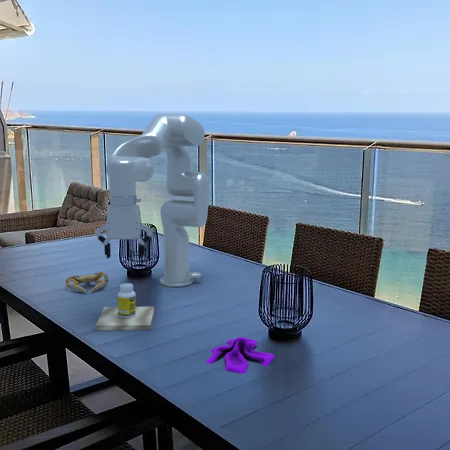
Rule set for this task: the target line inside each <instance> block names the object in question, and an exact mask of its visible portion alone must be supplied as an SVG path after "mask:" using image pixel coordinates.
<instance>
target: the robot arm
mask: <svg viewBox="0 0 450 450" xmlns="http://www.w3.org/2000/svg"><path fill="white" fill-rule="evenodd" d="M205 137H206V136H205V129H204V127H203V125H202V124H201V122H199V121H198V120H196V119H195V118H193V117H192V116H190V115H187V114H184V113H162V114H160V113H159V114H157V115H156V116H154V117H152V119H151V121H150V122H149V123H148V125H147V126H146V128H145V129H144V130H143V132H142V134H141V135H138V136H136V137H134V138H132V139H130V140H127V141H126V142H124V143H122V144H121V145H120V144H119V146H118V147H117V148H116V149H115V150H114V151H113V152H112V154H111V155H110V157H109V159H108V160H107V163H106V169H105V170H106V174H107V176H108V177H109V205H108V206H107V210H106V211H107V212H106V224H104V225H102V226H101V227H98V228H96V229H95V230H94V234H95V236H96V237H97V239H98V240H99V242H101V243H102V244H103V246H104V255H105V256H106V259H109V258H110V257H111V256H112V255H111V253H112V251H111V243H110V242H111V241H112V240H136V241H137V242H138V243H139V244H138V258H139V259H142V258H143V256H144V255H145V244H146V243H147V242H148V241H149V240H150V238H151V236H152V235H153V233H154V229H152V228H150V227H148V226H147V225H145V224H142V217H141V210H140V209H141V208H140V206H139V204H137V203H141V202H142V197H139V196H137V190H136V189H137V187H136V182H139V183H141V182H147V181H149V180H150V179H151V178H152V177H153V176H154V172H155V171H154V170H155V167H154V164H153V162H152V160H151V158H154V157H156V156H159V155H160V154H162V152H163V150H164V151H165V154H166V159H167V161H166V162H167V164H166V182H165V184H166V185H165V186H166V192H167V194H168V195H170V196H173V197H183V198H193V200H183V199H180V200H179V199H170V200H166V201H164V202H163V203H162V204H161V207H160V211H159V212H160V218H161V225H162V233H163V234H162V235H163V237H162V238H163V240H162V241H163V276H162V277H161V278H160V279H159V283H160V284H161V285H162V286H166V287H173V288H177V287H178V288H179V287H185V286H190V285H192V284H193V283H194V279H201V278H202V277H201V276H202V274H201V273H200V272H198V271H196V272H195V271H194V272H192V271H191V269H190V239H189V237H190V236H189V234H188V231H187V230H186V228H185V227H190V228H201V227H204V226H205V225H206V224H207V221H208V213H209V212H208V211H209V194H210V182H209V177H208V175H207V174H206V173H205V172H201V171H196V170H195V171H193V170H192V171H191V157H190V154H189V152H188V150H187V149H186V148H185V147H199V146H200V145H202V144H203V142H204V139H205ZM103 231H106V232H105V233H106V237H104V236H103V234H102V233H103ZM143 231H144V232H146V233H147V234H146V235H145V236H144V237H143V236H142V232H143Z"/></svg>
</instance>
